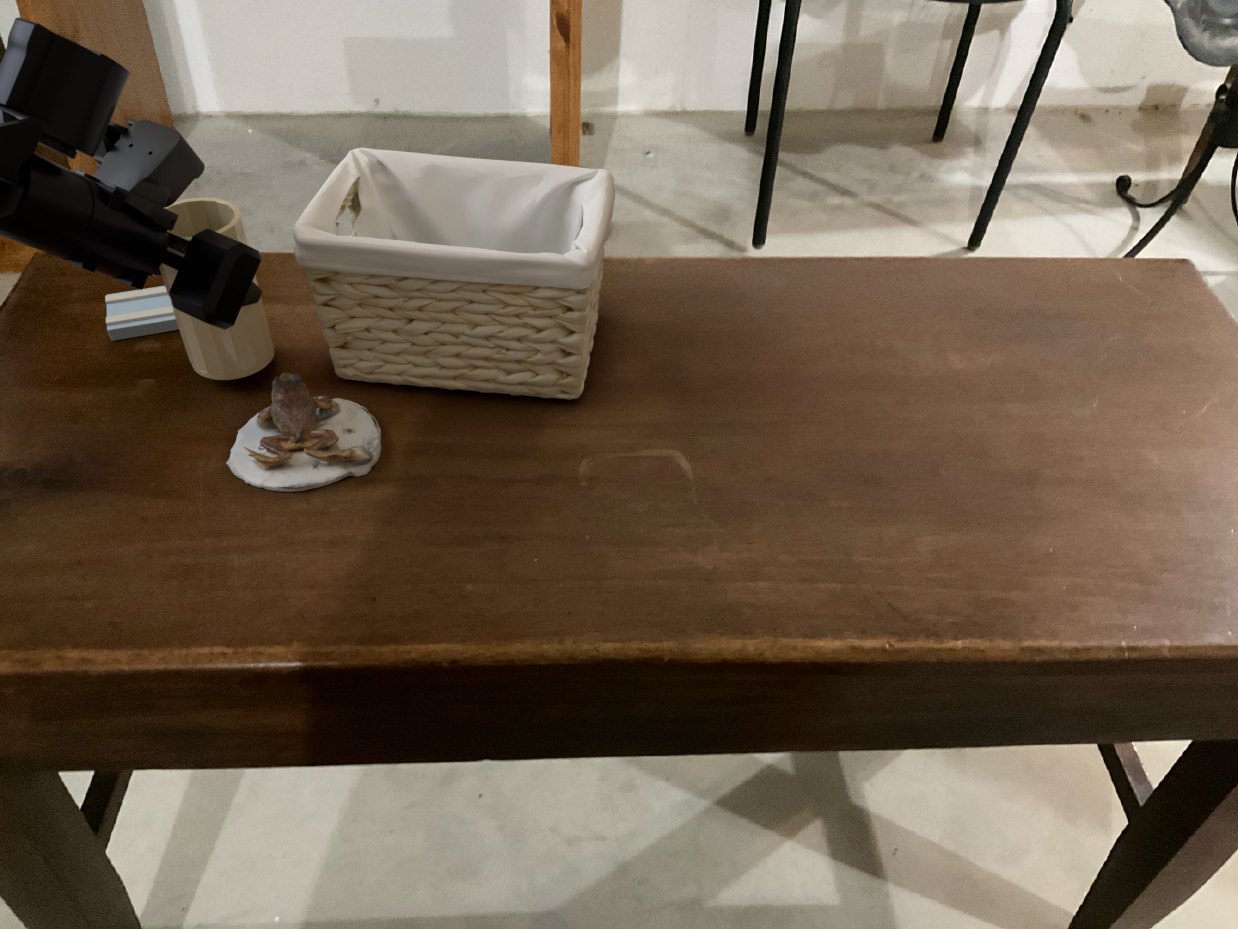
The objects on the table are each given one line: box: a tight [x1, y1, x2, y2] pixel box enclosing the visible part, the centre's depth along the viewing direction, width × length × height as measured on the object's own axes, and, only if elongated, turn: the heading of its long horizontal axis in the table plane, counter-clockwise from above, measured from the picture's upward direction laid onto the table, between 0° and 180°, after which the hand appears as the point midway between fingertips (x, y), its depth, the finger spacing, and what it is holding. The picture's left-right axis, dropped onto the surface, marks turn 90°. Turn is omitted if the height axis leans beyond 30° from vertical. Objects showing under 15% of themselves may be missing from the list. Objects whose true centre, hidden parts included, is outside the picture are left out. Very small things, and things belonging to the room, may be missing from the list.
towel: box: [104, 285, 180, 342], centre depth 88 cm, size 10×6×2 cm, turn 112°
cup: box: [159, 197, 276, 381], centre depth 78 cm, size 7×7×13 cm
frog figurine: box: [225, 372, 382, 493], centre depth 75 cm, size 12×12×4 cm
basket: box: [292, 147, 616, 401], centre depth 82 cm, size 24×16×15 cm
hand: (227, 282), depth 78 cm, fingers closed on cup, 7 cm apart
